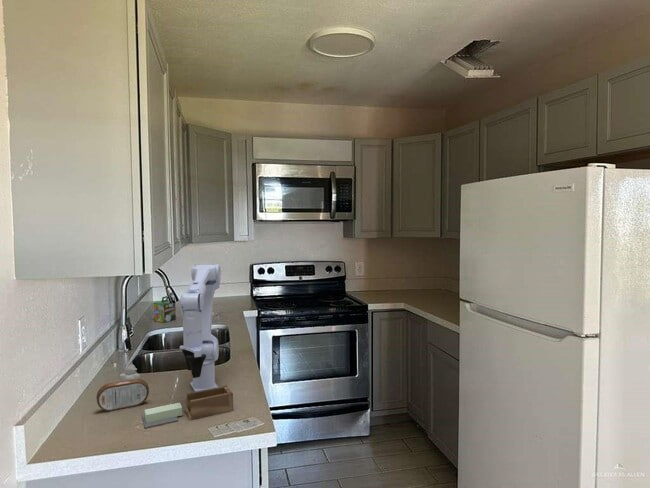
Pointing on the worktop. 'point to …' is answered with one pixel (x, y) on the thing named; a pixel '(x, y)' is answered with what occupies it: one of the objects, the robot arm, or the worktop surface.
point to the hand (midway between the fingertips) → (194, 373)
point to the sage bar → (163, 412)
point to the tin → (122, 394)
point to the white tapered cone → (130, 373)
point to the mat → (158, 422)
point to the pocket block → (209, 402)
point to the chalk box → (164, 311)
